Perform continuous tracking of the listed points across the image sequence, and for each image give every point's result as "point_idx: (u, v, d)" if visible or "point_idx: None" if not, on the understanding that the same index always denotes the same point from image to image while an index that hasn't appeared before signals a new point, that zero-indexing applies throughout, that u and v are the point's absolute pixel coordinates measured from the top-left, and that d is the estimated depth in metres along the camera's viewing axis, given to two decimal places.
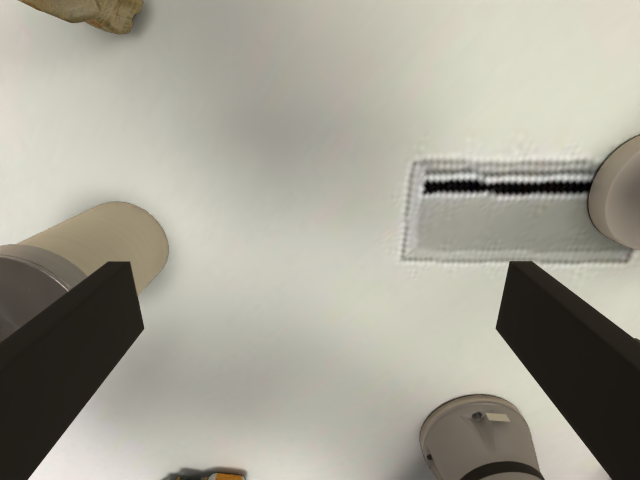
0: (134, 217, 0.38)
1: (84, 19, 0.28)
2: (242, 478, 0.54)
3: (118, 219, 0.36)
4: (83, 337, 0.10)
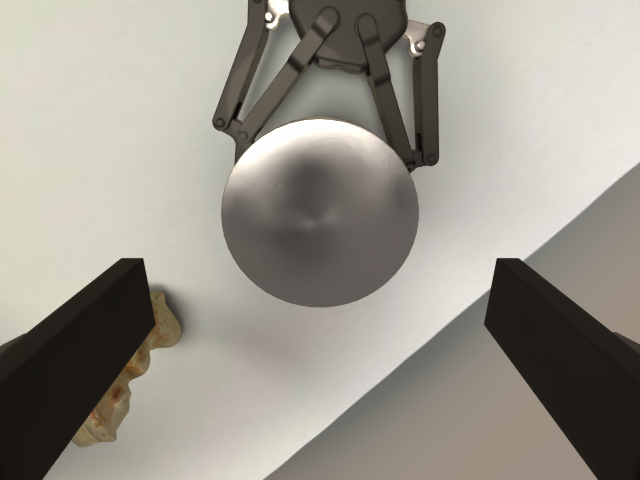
0: None
1: None
2: None
3: None
4: (100, 331, 0.10)
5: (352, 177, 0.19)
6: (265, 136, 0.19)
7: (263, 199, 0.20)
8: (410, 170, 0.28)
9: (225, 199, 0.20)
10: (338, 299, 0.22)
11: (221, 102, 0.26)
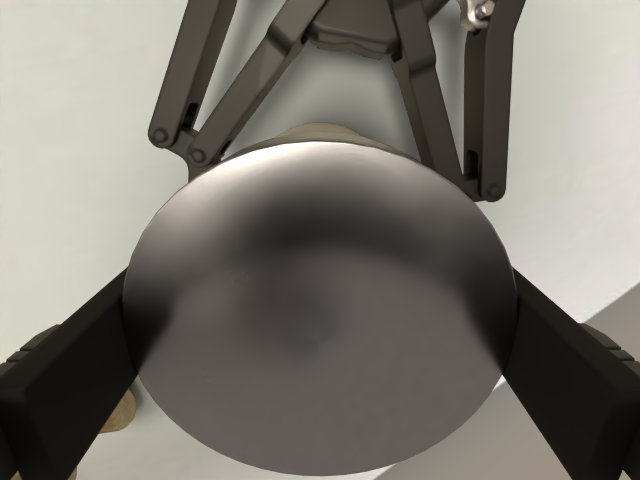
0: None
1: None
2: None
3: None
4: None
5: (386, 258, 0.09)
6: (201, 178, 0.09)
7: (205, 300, 0.10)
8: None
9: (128, 300, 0.10)
10: (353, 464, 0.12)
11: (160, 103, 0.16)
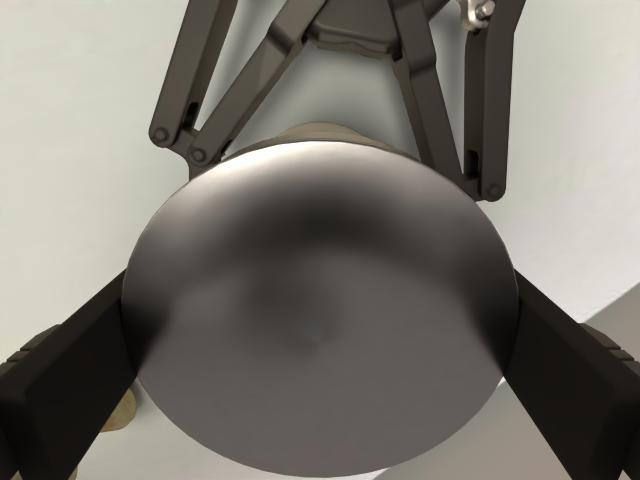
0: None
1: None
2: None
3: None
4: None
5: (222, 290, 0.10)
6: (172, 419, 0.11)
7: (279, 425, 0.11)
8: None
9: (283, 471, 0.12)
10: (503, 304, 0.10)
11: (161, 102, 0.16)
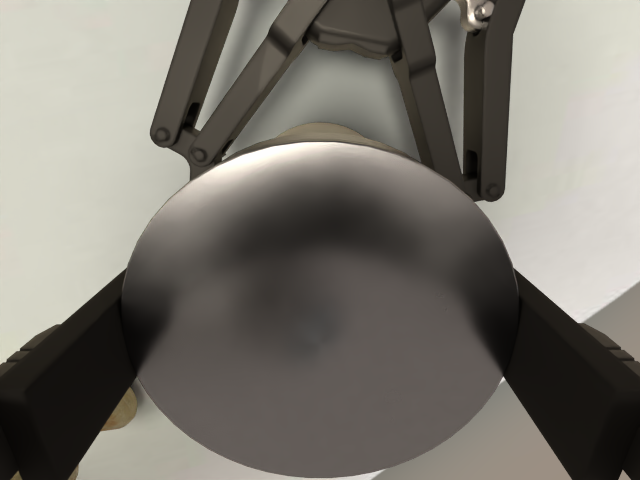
0: None
1: None
2: None
3: None
4: None
5: (268, 413, 0.11)
6: (411, 457, 0.12)
7: (427, 377, 0.11)
8: None
9: (498, 374, 0.11)
10: (262, 167, 0.08)
11: (162, 102, 0.16)
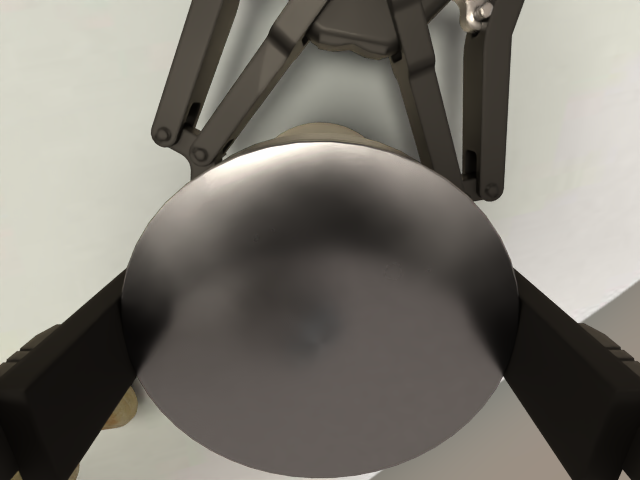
0: None
1: None
2: None
3: None
4: None
5: (409, 386, 0.11)
6: (498, 240, 0.09)
7: (365, 237, 0.09)
8: None
9: (363, 153, 0.08)
10: (155, 382, 0.11)
11: (163, 102, 0.17)
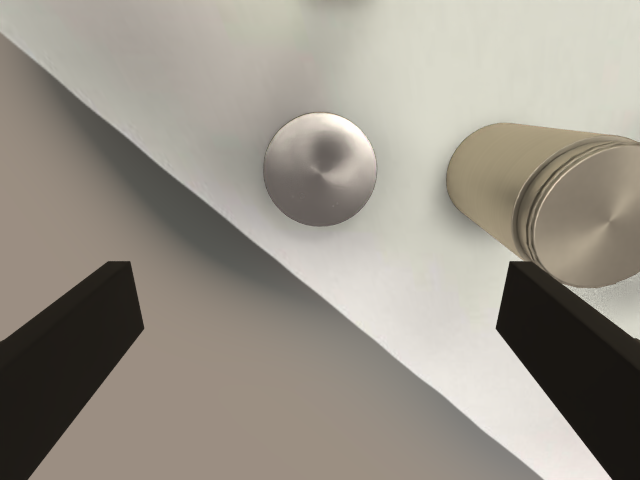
0: (508, 125, 0.33)
1: None
2: None
3: (509, 129, 0.32)
4: (83, 337, 0.10)
5: (291, 157, 0.35)
6: (277, 205, 0.36)
7: (310, 204, 0.36)
8: None
9: (312, 224, 0.37)
10: (370, 155, 0.35)
11: None
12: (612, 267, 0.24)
